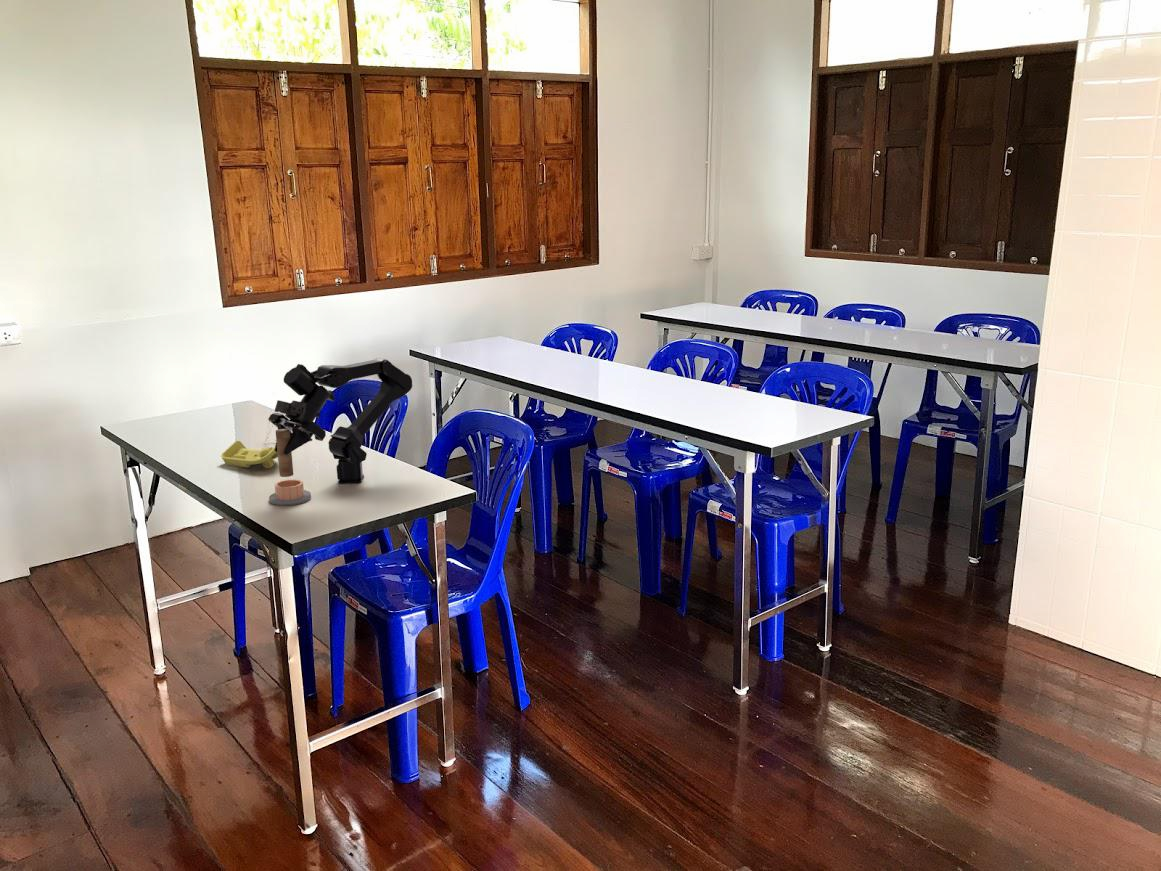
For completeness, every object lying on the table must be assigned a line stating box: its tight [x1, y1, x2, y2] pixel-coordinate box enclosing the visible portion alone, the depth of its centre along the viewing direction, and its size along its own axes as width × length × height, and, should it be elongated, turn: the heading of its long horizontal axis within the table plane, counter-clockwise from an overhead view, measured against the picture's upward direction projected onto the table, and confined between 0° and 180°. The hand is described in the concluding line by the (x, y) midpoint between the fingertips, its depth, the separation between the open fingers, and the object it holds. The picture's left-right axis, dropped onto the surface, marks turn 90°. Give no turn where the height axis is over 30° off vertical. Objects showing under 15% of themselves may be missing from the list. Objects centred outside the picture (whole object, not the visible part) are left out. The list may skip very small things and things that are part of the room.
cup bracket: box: [268, 478, 312, 507], centre depth 263 cm, size 11×11×4 cm
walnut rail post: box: [275, 428, 294, 478], centre depth 261 cm, size 4×4×12 cm
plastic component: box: [220, 440, 278, 469], centre depth 296 cm, size 20×7×10 cm
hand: (280, 452), depth 260 cm, fingers closed on walnut rail post, 4 cm apart
